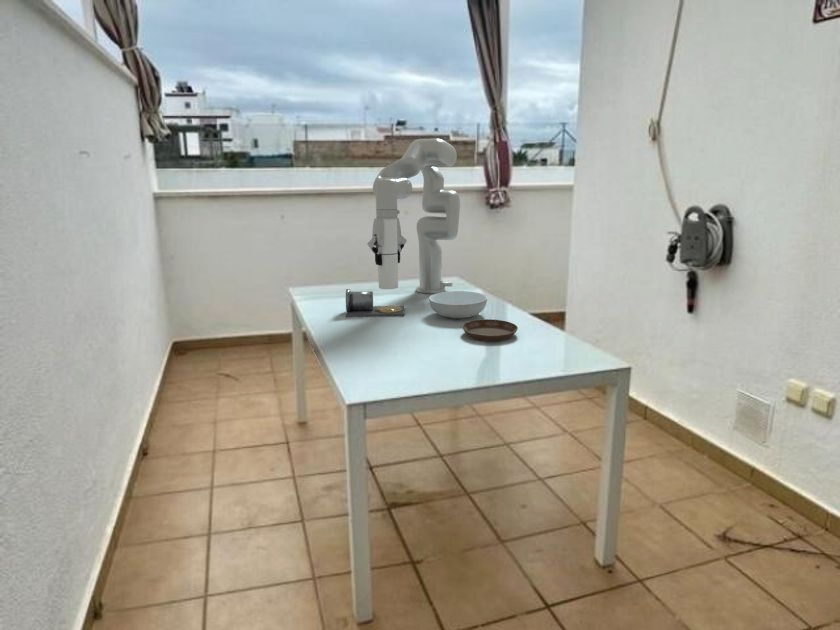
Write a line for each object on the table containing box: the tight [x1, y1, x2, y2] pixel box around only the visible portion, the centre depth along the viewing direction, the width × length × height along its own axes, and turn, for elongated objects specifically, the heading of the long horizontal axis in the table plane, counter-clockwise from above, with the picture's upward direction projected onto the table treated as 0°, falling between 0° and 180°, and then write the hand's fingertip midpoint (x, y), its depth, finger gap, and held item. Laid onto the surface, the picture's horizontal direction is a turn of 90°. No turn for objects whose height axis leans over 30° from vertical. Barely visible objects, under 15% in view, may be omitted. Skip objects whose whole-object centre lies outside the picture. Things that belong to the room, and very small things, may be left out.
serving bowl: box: [428, 290, 488, 320], centre depth 213 cm, size 21×21×7 cm
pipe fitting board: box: [345, 288, 405, 318], centre depth 218 cm, size 21×12×9 cm, turn 92°
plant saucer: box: [461, 318, 519, 342], centre depth 190 cm, size 18×18×3 cm
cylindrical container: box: [377, 219, 399, 290], centre depth 213 cm, size 7×7×25 cm
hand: (387, 263), depth 214 cm, fingers closed on cylindrical container, 7 cm apart
